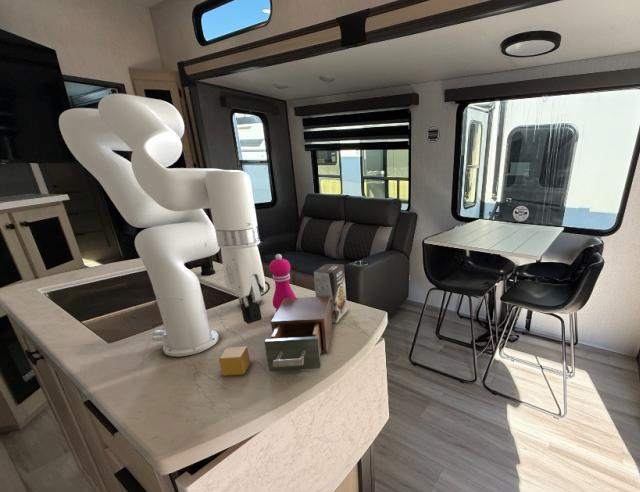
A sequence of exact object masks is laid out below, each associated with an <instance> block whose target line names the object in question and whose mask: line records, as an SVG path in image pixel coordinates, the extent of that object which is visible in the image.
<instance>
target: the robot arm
mask: <svg viewBox="0 0 640 492" xmlns="http://www.w3.org/2000/svg"><path fill="white" fill-rule="evenodd" d="M58 126H59V127H58V128H59V131H60V132H61V136H62V139H63V140H64V142H65V144H66V146H67V148H68V150H69V151H70V153H71V154H72V155H73V157H74V158H75V159H76V160H77V161H78V162H79V163H80V165H82V167H83V168H85V169H86V170H87V171H88V172H89V173H90V174H91V175H92V176H93V177H94V178H95V179H96V180H97V181H98V182H99V184H100V185H101V186H102V188H103V190H104V191H105V193H106V194H107V196H108V197H109V199H110V200H111V202H112V203H113V205H114V206H115V208H116V209H117V211H118V212H119V213H120V215H121V217H122V218H123V219H124V221H126V222H127V223H128V224H129V225H130V226H132V227H134V228H138V229H139V228H140V229H143V230H141V231H139V233H137V234H136V236H135V238H134V247H135V250H136V252H137V254H138V257H139V258H140V260H141V262H142V264H143V266H144V268H145V270H146V272H147V274H148V275H147V276H148V277H149V280H150V283H151V286H152V290H153V293H154V295H155V299H156V303H157V307H158V311H159V314H160V317H161V321H162V324H163V327H164V329H162V330H161V329H160V330H154V331H153V332H152V341H153V342H163V344H162V345H163V346H162V351H163V353H164V354H165V355H166V356H168V357H175V358H176V357H187V356H192V355H196V354H199V353H201V352H204V351H207V350H209V349H210V348H212V347H213V346H214V345H215V344H216V343H218V341H219V339H220V336H219V332H217V331H216V330H215V329H214V330H213V329H211V327H210V322H209V317H208V314H207V309H206V305H205V300H204V296H203V292H202V288H201V284H200V279H199V278H198V276H197V274H196V273H195V272H193V271H192V270H191V269H189V268H187V267H186V265H185V264H187V263H189V262H192V261H197V260H200V259H205V258H208V257H211V256H212V257H213V256H214V255H216V254H217V253H218V252H220V253H221V263H222V269H223V275H224V276H223V277H224V282H225V283H224V284H225V286H226V288H227V289H228V290H230V291H231V292H232V293H234V294H235V295H236V296H237V295H238V296H239V299H240V302H239V304H240V303H241V304H242V305H240V309H241V314H242V320H243V321H244V323H246V324H247V325H249V324H252V323H256V322H259V321H261V320H262V318H263V317H262V311H261V306H260V305H261V304H260V305H259V303H260V302H259V301H261V302H262V299H263V298H262V296H261V295H262V294H263V293H265V292H266V283H265V281H266V280H265V273H264V268H263V264H262V259H261V254H260V251H259V247H258V245H259V244H260V243H261V239H260V232H259V226H258V218H257V213H256V212H257V211H256V206H255V200H254V193H253V186H252V179H251V177H250V175H249V174H248V173H247V172H246V171H244V170H239V169H234V170H233V169H220V168H200V167H194V168H193V167H190V168H189V167H185V168H184V167H180V168H179V167H176V168H175V167H174V168H169V167H170V166H172V165H174V163H176V162H177V161H178V160H179V158H180V157H181V155H182V153H183V143H182V138H183V136H184V134H185V123H184V119H183V117H182V114H181V113H180V111H179V110H178V109H177V108H176V107H175V106H174V105H173V104H171V103H169V102H167V101H165V100H162V99H156V98H151V97H146V96H140V95H133V94H128V93H127V94H126V93H111V94H108V95H107V94H106V95H105V96H103V97H102V98H101V99H100V100H99V102H98V104H97V108H90V107H87V108H86V107H76V108H70V109H67V110H64V111H63V112H62V113H60V115H59V117H58ZM115 151H122V152H132V153H131V157H130V160H128V159H127V158H124V156H121V155H120V154H118V153H117V152H115ZM206 209H210V212H211V218H212V221H211V219H210V218H209V216H208V215H207V213H206V212H205V210H206ZM260 292H261V295H260ZM238 296H237V297H238ZM239 299H238V300H239Z"/></svg>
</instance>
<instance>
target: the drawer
mask: <svg viewBox="0 0 640 492" xmlns="http://www.w3.org/2000/svg"><path fill="white" fill-rule="evenodd" d="M263 342H264V348H265V349H264V350H265V354H266V355H265V356H266V360H267V365H268V371H269V373H271V372H273V373H274V372H287V371H301V370H302V371H303V370H316V369H321V368H322V361H321V354H322V353H321V349H322V344H323V338H322V327H321V322H311V323H291V324H277V326H276V328H275V330H274V332H273V333H272V334H271V336H270V338H265V340H264V341H263Z"/></svg>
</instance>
